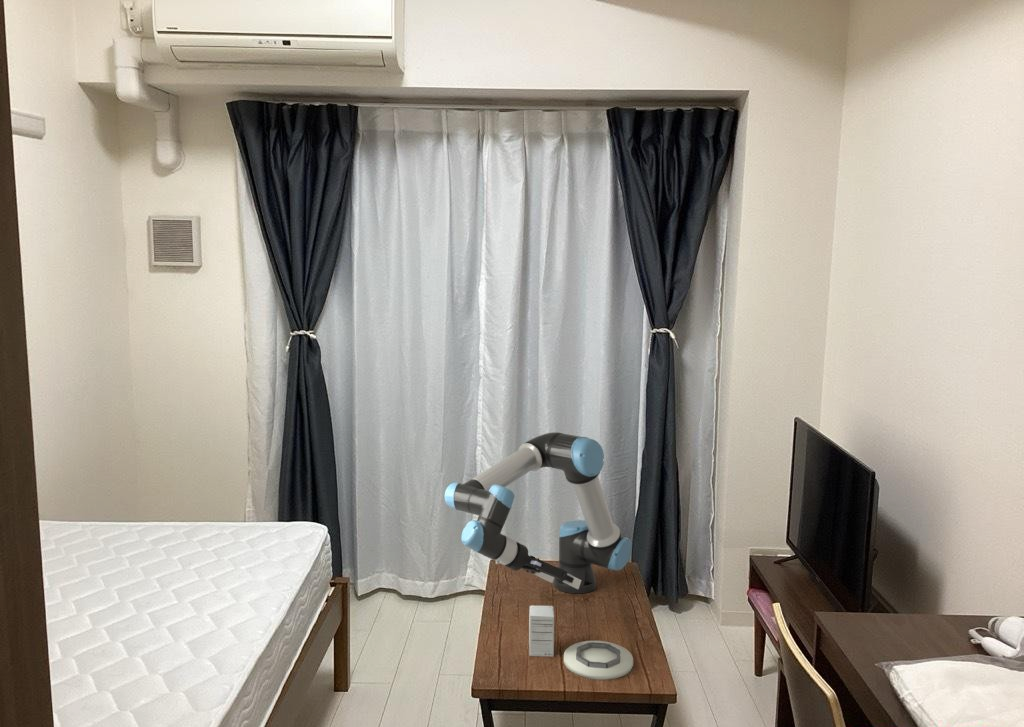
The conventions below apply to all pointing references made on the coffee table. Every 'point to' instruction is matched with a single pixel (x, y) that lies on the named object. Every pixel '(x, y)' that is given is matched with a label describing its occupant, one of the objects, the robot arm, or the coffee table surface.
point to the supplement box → (541, 631)
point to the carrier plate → (598, 656)
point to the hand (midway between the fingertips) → (566, 581)
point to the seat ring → (598, 664)
